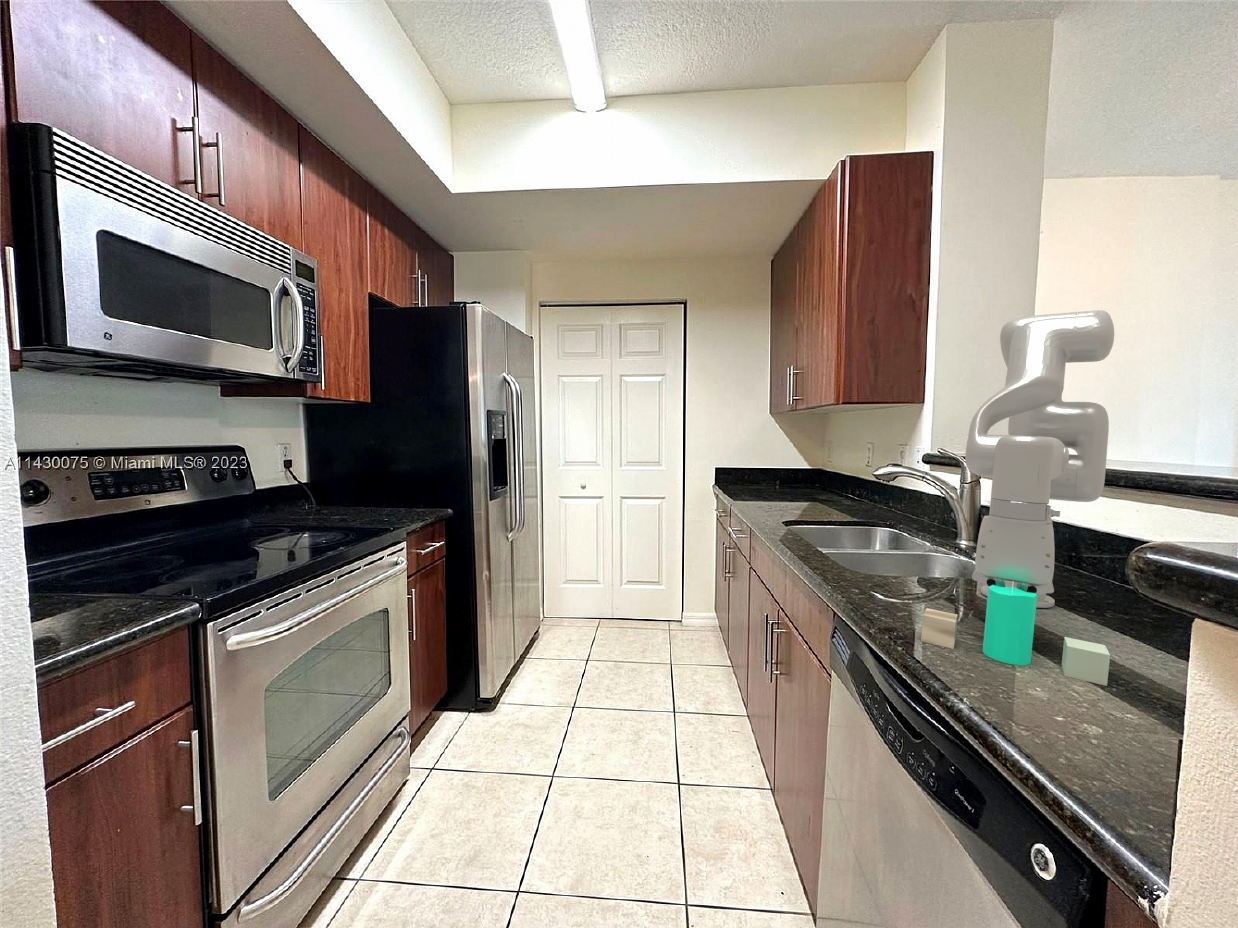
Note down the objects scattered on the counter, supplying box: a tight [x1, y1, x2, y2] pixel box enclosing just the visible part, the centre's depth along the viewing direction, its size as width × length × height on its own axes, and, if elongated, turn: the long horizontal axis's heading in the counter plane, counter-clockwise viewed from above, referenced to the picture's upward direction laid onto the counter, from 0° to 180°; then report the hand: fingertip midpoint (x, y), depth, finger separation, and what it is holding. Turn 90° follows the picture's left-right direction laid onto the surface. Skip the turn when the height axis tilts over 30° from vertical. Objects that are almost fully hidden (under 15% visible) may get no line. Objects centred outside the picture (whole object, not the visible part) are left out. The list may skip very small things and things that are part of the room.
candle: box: [982, 581, 1037, 666], centre depth 80 cm, size 6×6×12 cm
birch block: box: [920, 607, 959, 650], centre depth 85 cm, size 4×4×4 cm
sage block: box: [1061, 636, 1111, 687], centre depth 74 cm, size 4×4×4 cm
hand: (1007, 621), depth 85 cm, fingers closed
